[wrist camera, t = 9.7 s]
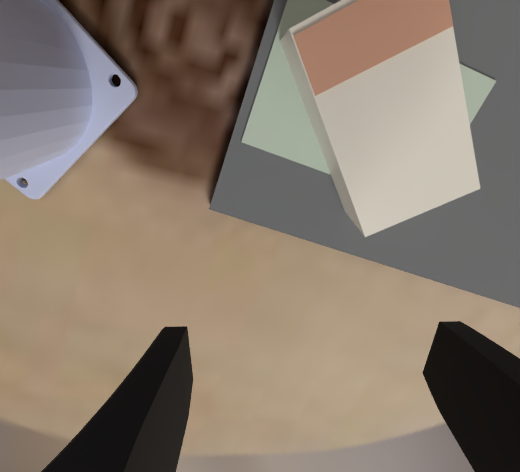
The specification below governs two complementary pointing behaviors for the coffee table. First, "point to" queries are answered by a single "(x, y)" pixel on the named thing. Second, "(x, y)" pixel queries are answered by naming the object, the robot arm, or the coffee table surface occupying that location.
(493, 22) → the mat
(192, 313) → the coffee table surface
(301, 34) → the card box
